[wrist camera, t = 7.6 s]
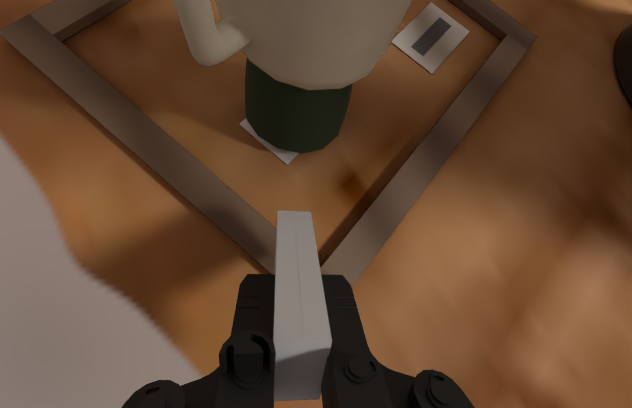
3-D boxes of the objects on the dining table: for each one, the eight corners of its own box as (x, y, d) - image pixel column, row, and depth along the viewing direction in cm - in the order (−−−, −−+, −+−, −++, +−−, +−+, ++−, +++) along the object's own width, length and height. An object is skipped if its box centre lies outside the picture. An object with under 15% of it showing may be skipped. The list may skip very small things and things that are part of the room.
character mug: (314, 38, 21) (380, -334, 8) (385, 104, 20) (574, -190, 8) (189, 125, 17) (-12, -275, 5) (270, 207, 17) (272, -16, 4)
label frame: (306, -128, 26) (307, -137, 25) (531, 42, 24) (537, 36, 23) (6, 40, 17) (-3, 31, 17) (324, 321, 16) (326, 322, 15)
